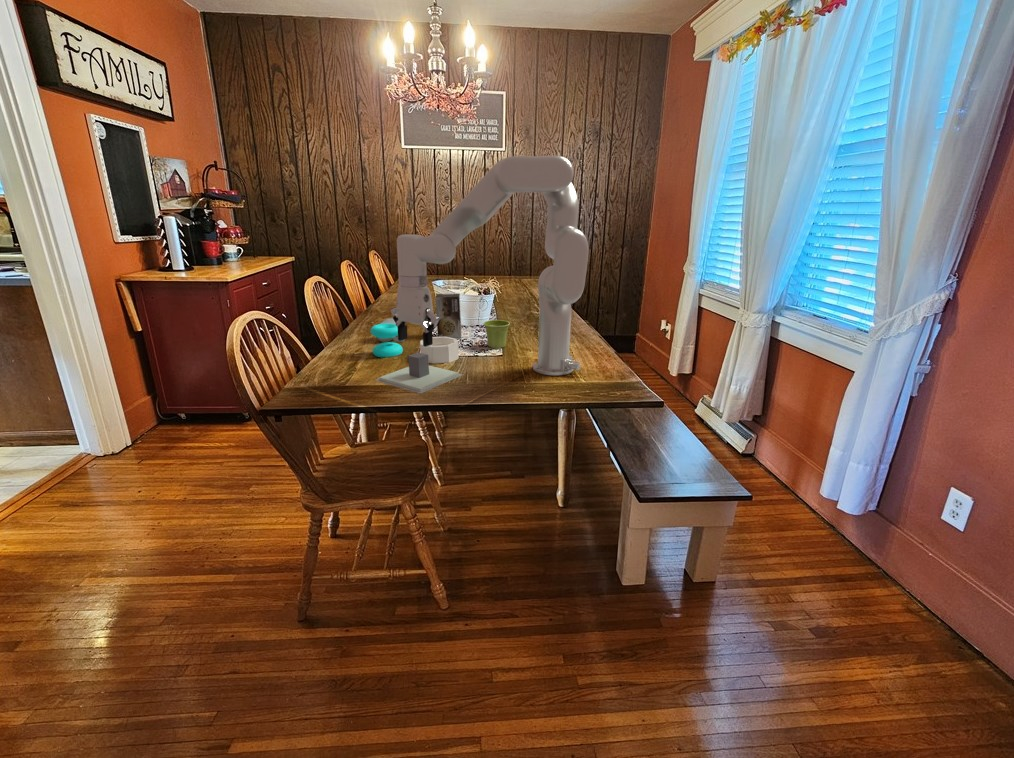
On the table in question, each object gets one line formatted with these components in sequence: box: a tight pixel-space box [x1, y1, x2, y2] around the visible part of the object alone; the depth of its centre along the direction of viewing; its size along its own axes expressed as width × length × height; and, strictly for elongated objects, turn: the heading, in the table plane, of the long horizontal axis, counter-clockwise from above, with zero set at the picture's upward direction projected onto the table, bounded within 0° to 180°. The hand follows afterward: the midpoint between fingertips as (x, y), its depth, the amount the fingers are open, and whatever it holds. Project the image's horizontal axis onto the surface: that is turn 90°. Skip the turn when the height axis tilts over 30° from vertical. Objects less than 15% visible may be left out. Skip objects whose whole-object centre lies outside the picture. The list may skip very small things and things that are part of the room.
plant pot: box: [483, 319, 511, 349], centre depth 171 cm, size 9×9×9 cm
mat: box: [374, 373, 463, 394], centre depth 140 cm, size 18×18×1 cm
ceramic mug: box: [375, 317, 406, 343], centre depth 178 cm, size 11×8×8 cm
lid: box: [379, 352, 459, 391], centre depth 139 cm, size 16×16×7 cm
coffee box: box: [435, 293, 463, 339], centre depth 183 cm, size 9×6×16 cm
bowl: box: [419, 336, 460, 364], centre depth 157 cm, size 12×12×6 cm
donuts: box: [370, 323, 404, 359], centre depth 161 cm, size 10×10×10 cm
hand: (415, 342), depth 136 cm, fingers open, 9 cm apart
